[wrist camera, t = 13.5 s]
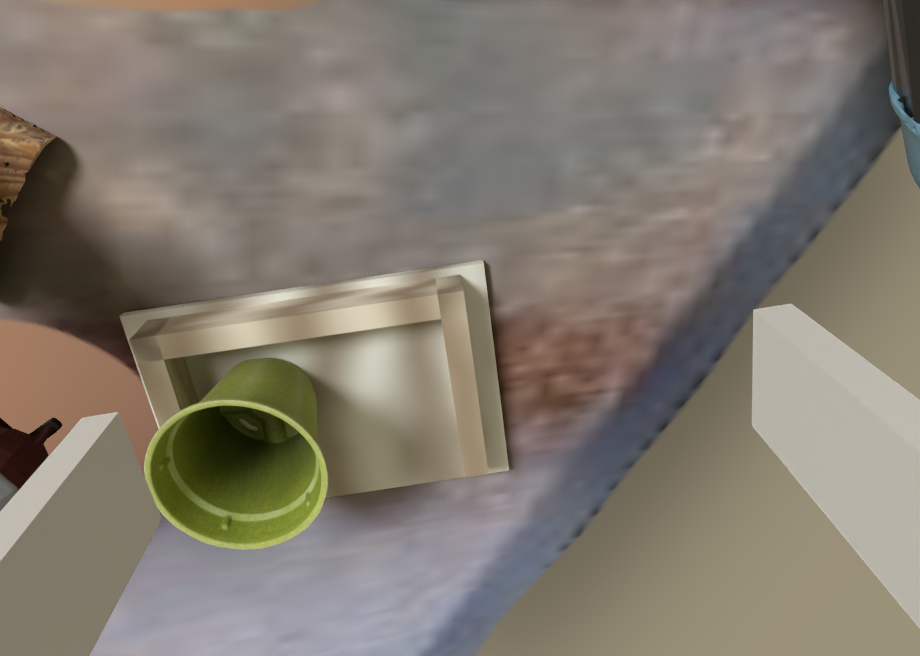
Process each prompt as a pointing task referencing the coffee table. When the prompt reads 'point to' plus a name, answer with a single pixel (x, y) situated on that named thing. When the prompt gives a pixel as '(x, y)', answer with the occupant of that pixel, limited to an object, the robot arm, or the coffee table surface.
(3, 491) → the mate gourd
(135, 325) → the beige rectangular tray
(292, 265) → the coffee table surface
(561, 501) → the coffee table surface
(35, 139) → the bird sculpture
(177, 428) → the plant pot
